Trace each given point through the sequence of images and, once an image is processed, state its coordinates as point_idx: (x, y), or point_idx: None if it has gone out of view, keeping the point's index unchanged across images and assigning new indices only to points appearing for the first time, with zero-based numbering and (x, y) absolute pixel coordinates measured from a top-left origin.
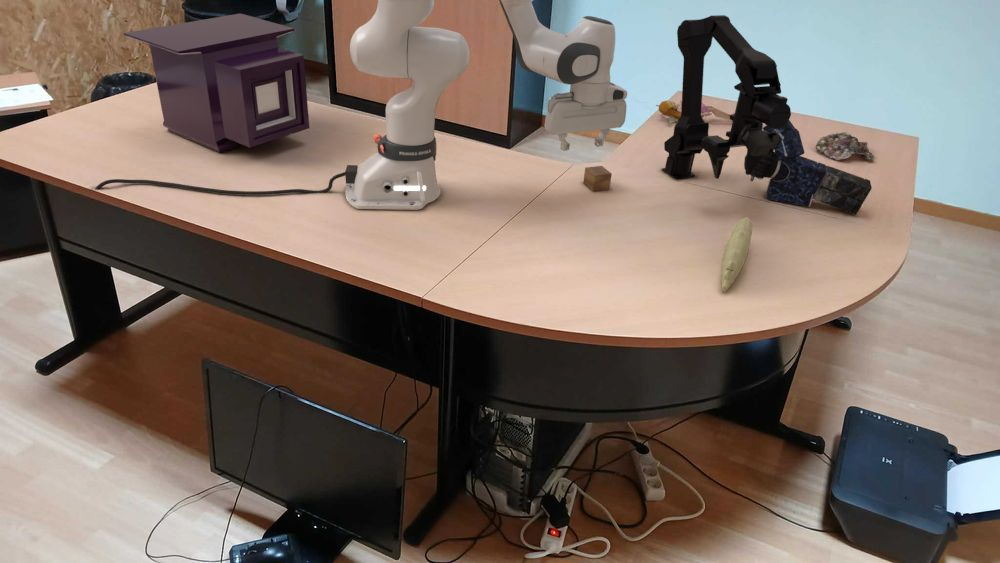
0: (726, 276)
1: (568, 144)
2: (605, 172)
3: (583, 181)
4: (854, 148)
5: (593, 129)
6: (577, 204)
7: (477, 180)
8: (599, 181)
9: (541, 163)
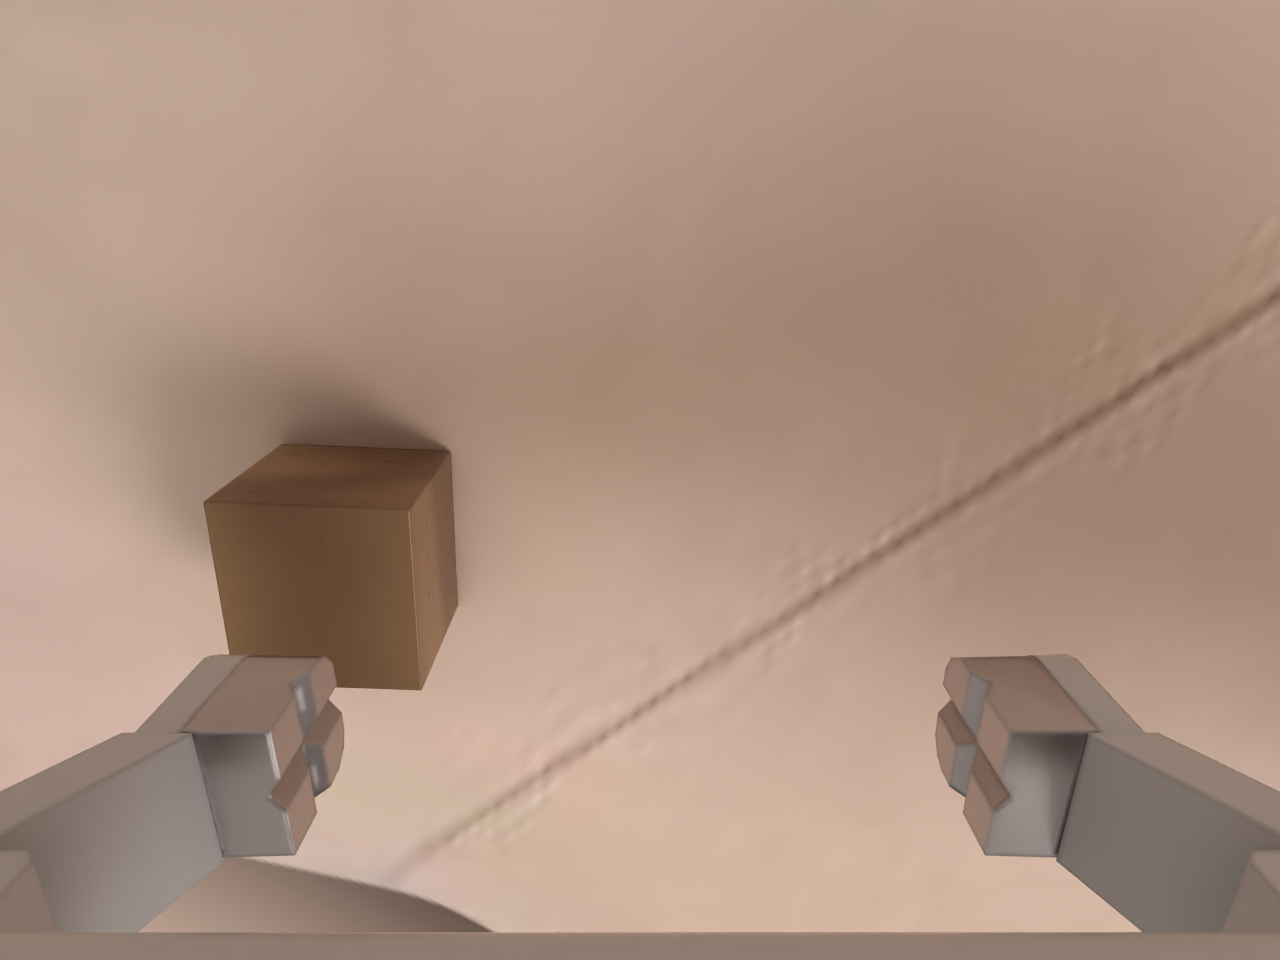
0: None
1: (1039, 722)
2: (262, 542)
3: (454, 611)
4: None
5: (419, 955)
6: (717, 261)
7: None
8: (368, 479)
9: None
